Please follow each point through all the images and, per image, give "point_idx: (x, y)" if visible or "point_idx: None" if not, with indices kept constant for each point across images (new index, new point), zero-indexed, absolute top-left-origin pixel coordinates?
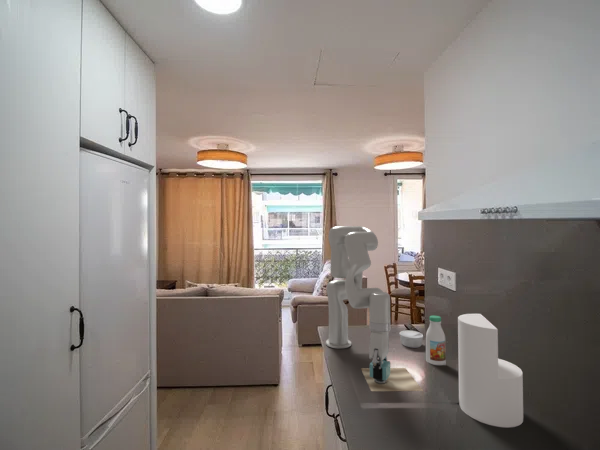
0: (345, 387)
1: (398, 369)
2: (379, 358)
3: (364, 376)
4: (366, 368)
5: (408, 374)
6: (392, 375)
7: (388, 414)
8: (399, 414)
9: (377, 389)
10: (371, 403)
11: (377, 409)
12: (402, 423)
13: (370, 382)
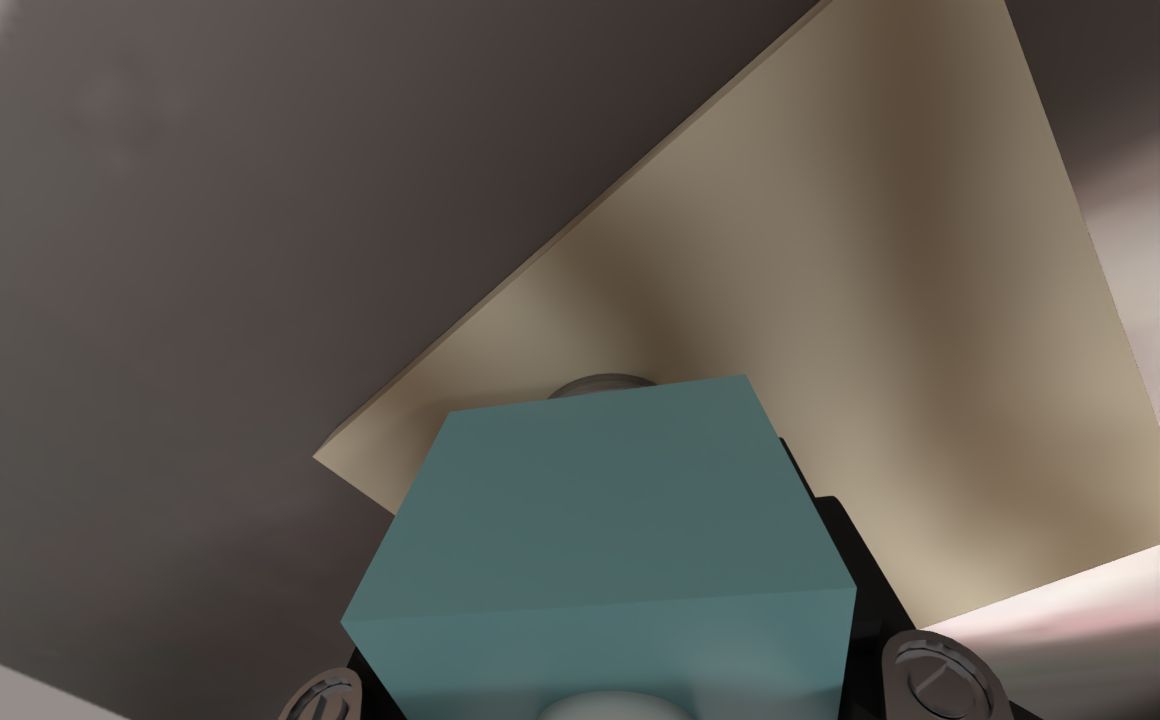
0: (157, 65)
1: (1112, 487)
2: (884, 698)
3: (608, 197)
4: (998, 34)
5: (974, 594)
6: (865, 491)
7: (226, 609)
8: (295, 647)
9: (403, 487)
10: (215, 486)
11: (197, 546)
12: (233, 674)
13: (488, 365)
